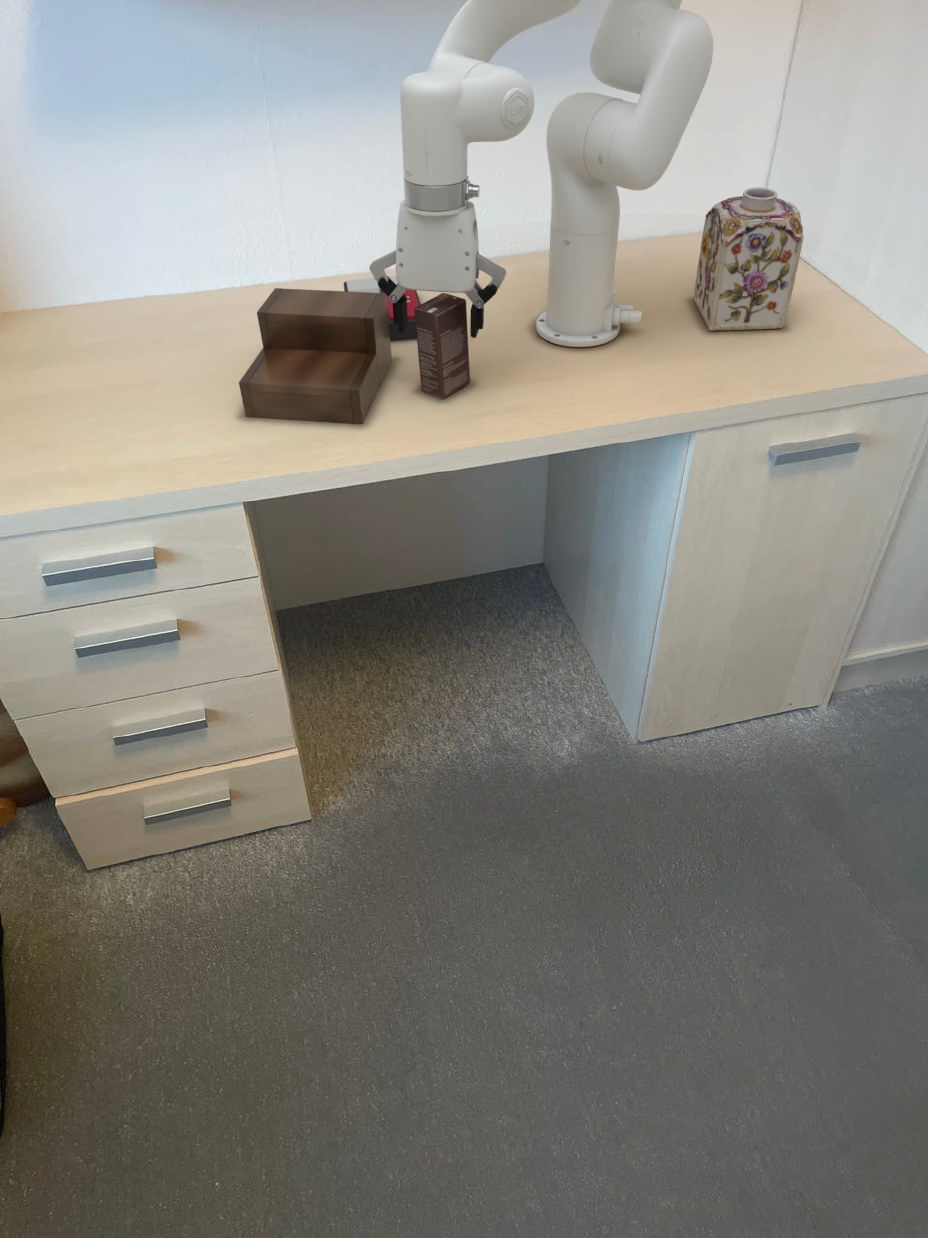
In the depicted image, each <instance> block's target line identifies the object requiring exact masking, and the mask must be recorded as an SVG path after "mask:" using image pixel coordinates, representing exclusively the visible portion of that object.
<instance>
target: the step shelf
mask: <svg viewBox="0 0 928 1238" xmlns="http://www.w3.org/2000/svg"><path fill="white" fill-rule="evenodd" d="M256 316H257V321H258V326H259V332H260V333H259V334H260V338H261V343H262V349H261V350H260V351H259V353H258V354H257V355H256V357H255V359H254V360H253V362H252V363H251V364H250V366H249V367H248V368H247V370H246V371H245V373H244V374H243V376H241V378H240V380H239V382H238V386H239V390H240V395H241V400H242V405H243V410H244V415H245V417H246V418H263V419H277V420H291V421H308V422H309V421H311V422H324V423H338V424H355V425H356V424H357V425H363V424H364V422H365V420H366V418H367V415H368V413H369V411H370V408H371V407H372V404H373V402H374V401H375V398H376V395H377V393H378V391H379V389H380V387H381V384H382V383H383V381H384V378H385V376H386V374H387V372H388V370H389V367H390V365H391V363H392V361H393V359H392V358H393V357H392V346H391V345H392V343H391V341H390V331H389V319H388V307H387V295H386V294H385V293H370V292H348V291H343V290H325V289H324V290H322V289H321V290H320V289H299V288H283V287H281V288H279V287H275V288H274V289H273V290H272V292H271V293H270V294H269V296H268V297H267V298H266V299H265V301H264V302H263V303H262V305H261V306H260V307H259V309H258V310H257V311H256Z"/></svg>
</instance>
